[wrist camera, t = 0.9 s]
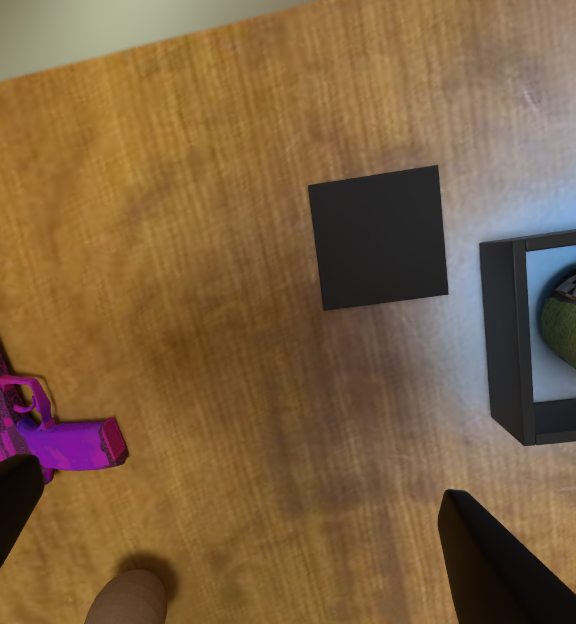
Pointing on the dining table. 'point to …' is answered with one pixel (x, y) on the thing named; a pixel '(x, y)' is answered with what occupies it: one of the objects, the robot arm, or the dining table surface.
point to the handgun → (53, 433)
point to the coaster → (379, 238)
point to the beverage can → (561, 319)
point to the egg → (130, 600)
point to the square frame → (518, 343)
